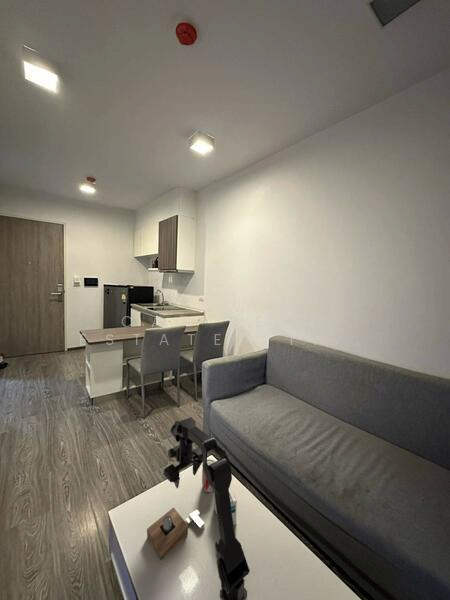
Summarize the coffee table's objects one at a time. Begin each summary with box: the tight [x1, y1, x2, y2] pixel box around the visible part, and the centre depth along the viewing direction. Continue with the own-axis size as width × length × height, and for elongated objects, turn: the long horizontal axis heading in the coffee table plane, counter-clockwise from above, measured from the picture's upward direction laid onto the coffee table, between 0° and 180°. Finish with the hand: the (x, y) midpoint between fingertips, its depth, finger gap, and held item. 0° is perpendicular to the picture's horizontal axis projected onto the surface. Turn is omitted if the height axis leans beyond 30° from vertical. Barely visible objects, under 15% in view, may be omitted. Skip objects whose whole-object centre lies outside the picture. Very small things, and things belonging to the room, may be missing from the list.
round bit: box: [163, 515, 172, 536], centre depth 91 cm, size 3×3×7 cm
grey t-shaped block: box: [185, 509, 205, 533], centre depth 96 cm, size 7×6×2 cm
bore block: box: [146, 507, 189, 561], centre depth 91 cm, size 10×12×4 cm
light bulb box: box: [213, 486, 238, 525], centre depth 99 cm, size 11×7×11 cm, turn 22°
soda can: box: [201, 459, 216, 493], centre depth 112 cm, size 7×7×12 cm
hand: (185, 480), depth 102 cm, fingers open, 9 cm apart
